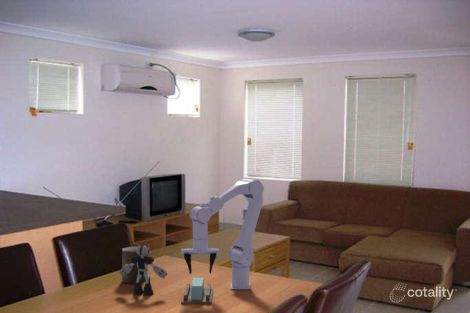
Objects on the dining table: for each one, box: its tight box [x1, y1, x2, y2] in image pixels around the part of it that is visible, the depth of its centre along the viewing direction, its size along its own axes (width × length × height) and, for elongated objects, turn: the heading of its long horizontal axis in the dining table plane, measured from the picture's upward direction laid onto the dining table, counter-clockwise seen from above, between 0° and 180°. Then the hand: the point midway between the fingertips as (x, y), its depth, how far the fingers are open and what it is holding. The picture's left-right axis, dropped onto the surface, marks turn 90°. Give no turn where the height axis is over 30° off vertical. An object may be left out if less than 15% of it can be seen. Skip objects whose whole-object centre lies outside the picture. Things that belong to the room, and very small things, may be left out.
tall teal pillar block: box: [190, 277, 205, 300], centre depth 191 cm, size 12×4×5 cm, turn 0°
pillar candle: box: [121, 245, 145, 285], centre depth 212 cm, size 10×10×15 cm
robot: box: [119, 241, 168, 297], centre depth 195 cm, size 20×5×20 cm, turn 78°
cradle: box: [180, 283, 214, 305], centre depth 191 cm, size 16×11×3 cm
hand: (200, 272), depth 193 cm, fingers open, 7 cm apart
